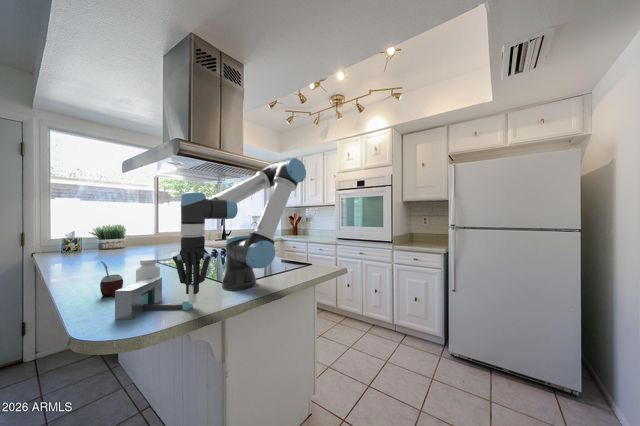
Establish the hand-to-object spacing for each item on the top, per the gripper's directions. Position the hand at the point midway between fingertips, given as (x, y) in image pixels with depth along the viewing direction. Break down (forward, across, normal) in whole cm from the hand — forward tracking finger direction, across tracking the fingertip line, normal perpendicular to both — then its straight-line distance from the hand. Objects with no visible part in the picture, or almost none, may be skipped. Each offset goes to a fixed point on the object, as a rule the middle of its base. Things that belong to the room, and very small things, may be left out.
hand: (192, 302), depth 84 cm
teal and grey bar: (+2, +11, 0) cm, 11 cm away
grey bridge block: (+2, +18, 0) cm, 18 cm away
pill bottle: (+2, +24, -14) cm, 28 cm away
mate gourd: (+2, +39, -16) cm, 42 cm away
